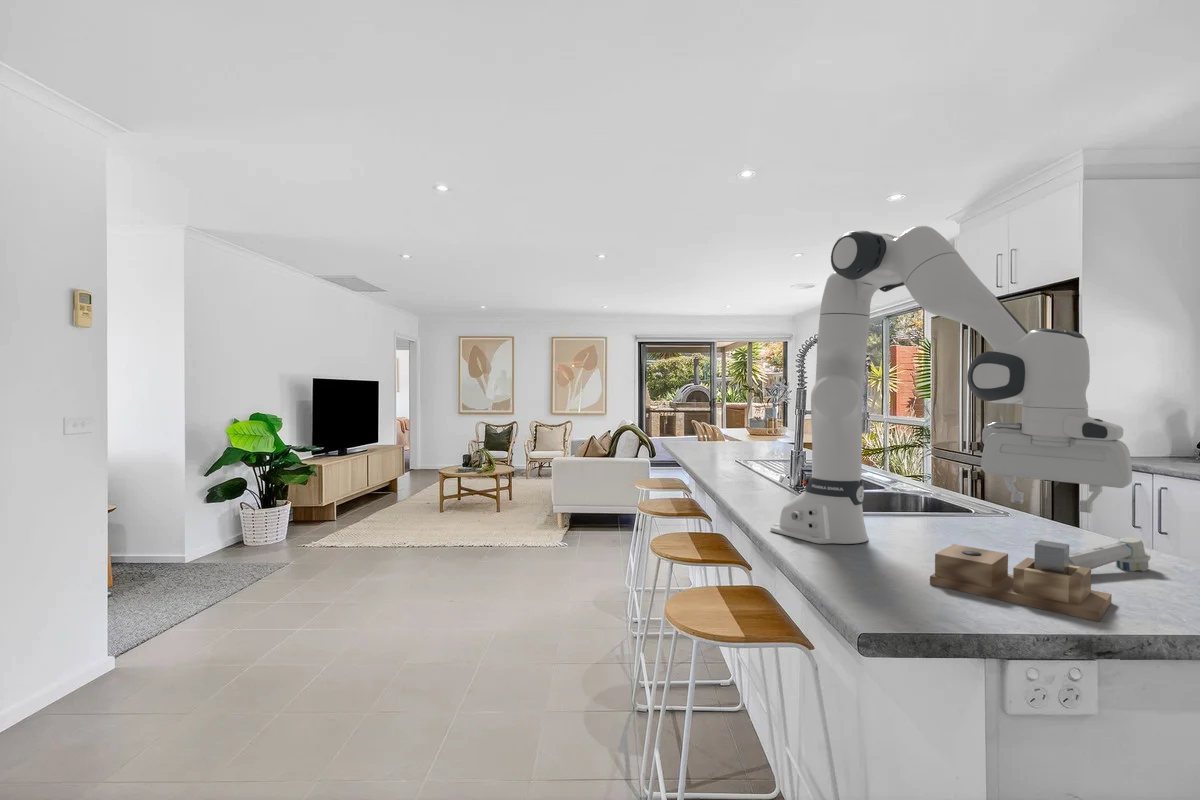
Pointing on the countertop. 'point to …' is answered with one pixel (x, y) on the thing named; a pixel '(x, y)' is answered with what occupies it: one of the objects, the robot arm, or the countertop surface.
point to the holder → (1019, 582)
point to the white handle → (1114, 555)
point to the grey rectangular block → (1052, 557)
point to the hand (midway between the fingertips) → (1050, 507)
